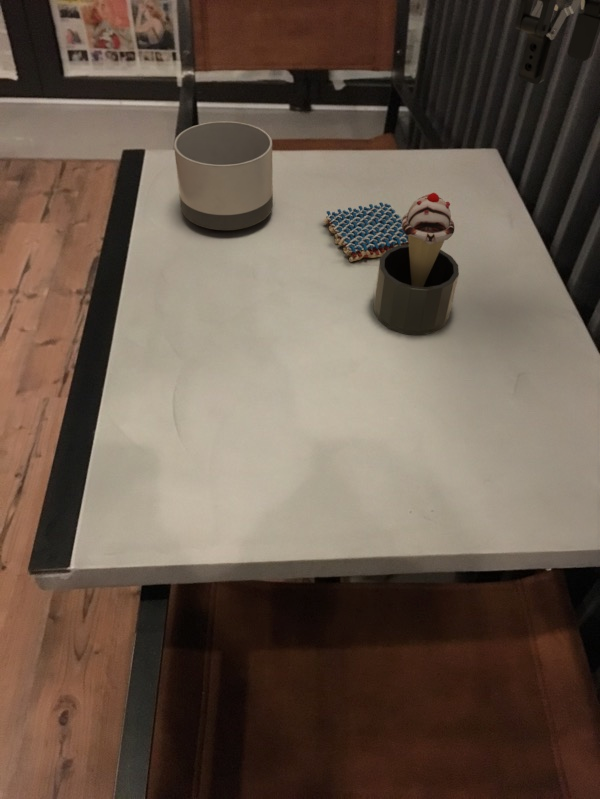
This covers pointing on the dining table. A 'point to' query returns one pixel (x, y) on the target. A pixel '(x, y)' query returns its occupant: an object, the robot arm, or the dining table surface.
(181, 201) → the planter
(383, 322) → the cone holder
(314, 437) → the dining table surface
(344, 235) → the woven mat
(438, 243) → the ice cream cone
